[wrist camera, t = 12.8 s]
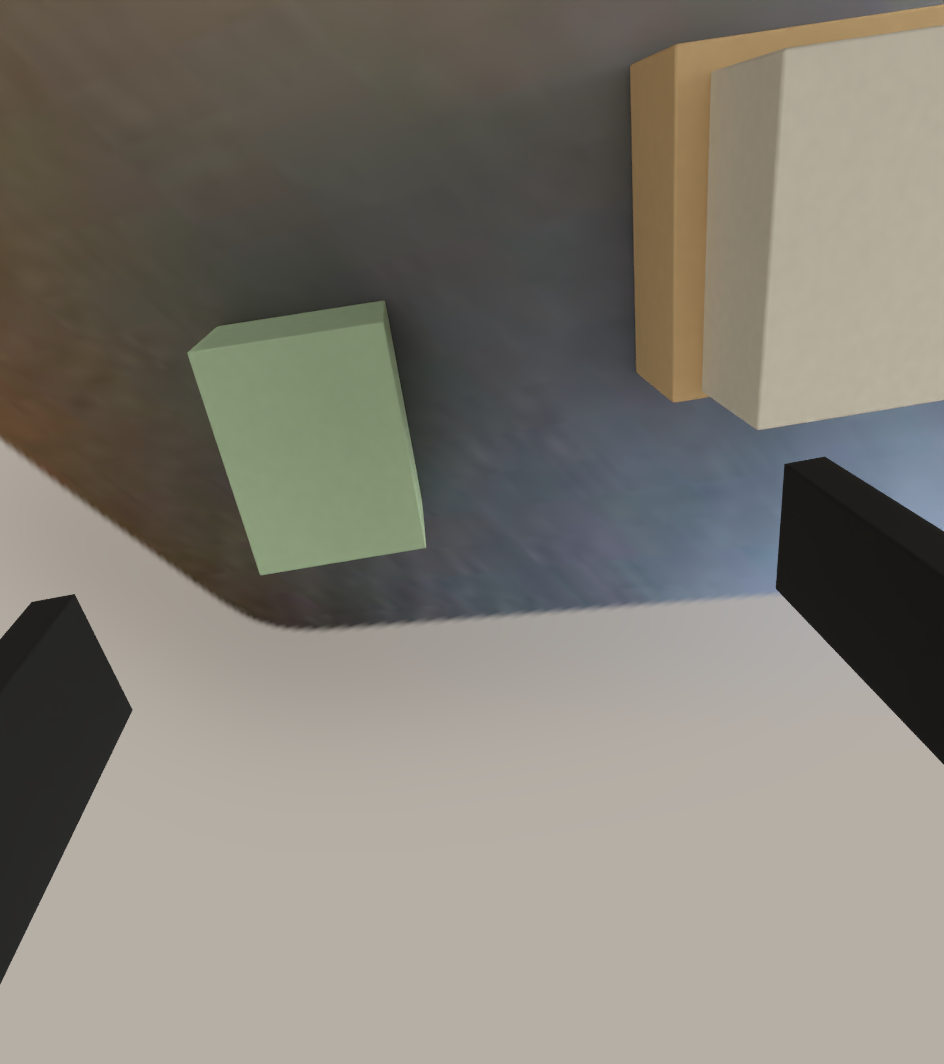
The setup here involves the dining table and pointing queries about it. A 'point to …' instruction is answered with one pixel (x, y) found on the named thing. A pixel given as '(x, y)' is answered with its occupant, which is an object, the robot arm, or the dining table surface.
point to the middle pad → (826, 230)
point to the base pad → (696, 184)
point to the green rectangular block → (313, 435)
